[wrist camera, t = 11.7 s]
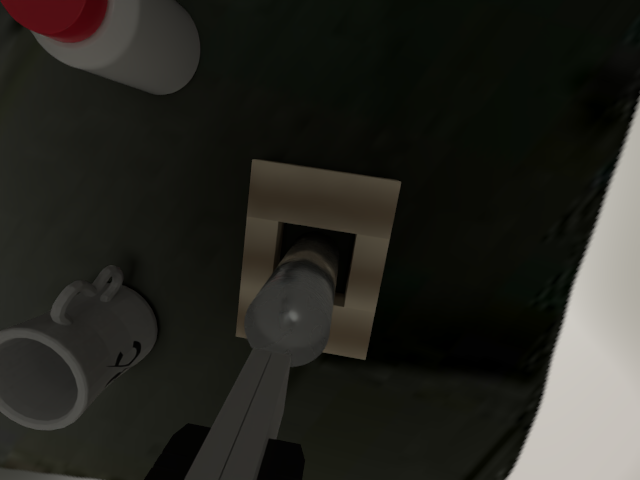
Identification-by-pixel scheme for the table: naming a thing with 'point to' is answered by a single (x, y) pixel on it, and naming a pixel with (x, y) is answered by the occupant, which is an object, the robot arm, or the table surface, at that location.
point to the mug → (73, 351)
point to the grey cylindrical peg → (297, 301)
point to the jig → (327, 213)
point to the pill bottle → (117, 39)
